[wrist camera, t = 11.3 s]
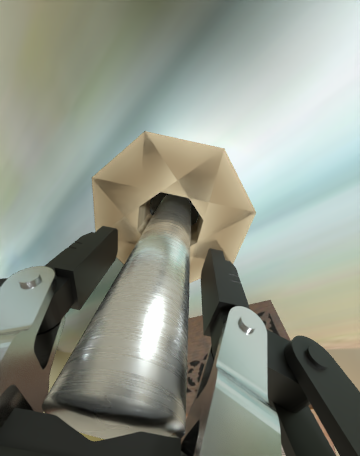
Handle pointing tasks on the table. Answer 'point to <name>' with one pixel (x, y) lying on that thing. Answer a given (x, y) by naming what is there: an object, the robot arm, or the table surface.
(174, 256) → the steel peg
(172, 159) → the wooden bead
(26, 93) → the table surface
